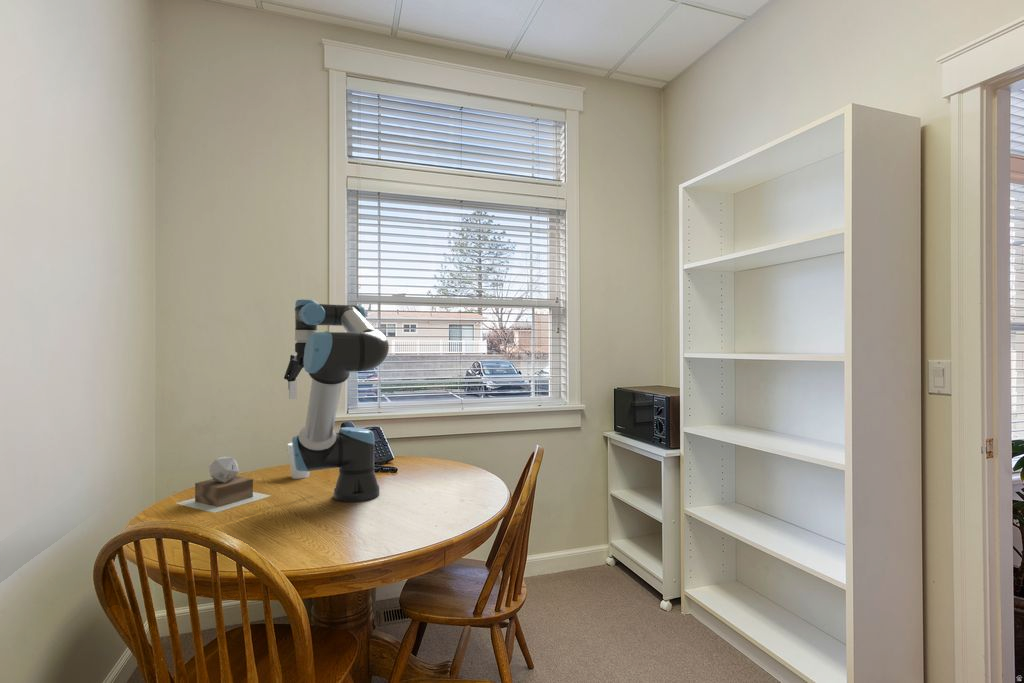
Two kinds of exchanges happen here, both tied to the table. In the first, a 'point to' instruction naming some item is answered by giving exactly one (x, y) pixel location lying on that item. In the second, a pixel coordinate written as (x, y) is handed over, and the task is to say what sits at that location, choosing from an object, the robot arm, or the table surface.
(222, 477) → the die
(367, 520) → the table surface
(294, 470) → the foam cup
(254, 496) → the base plate
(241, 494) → the walnut block
